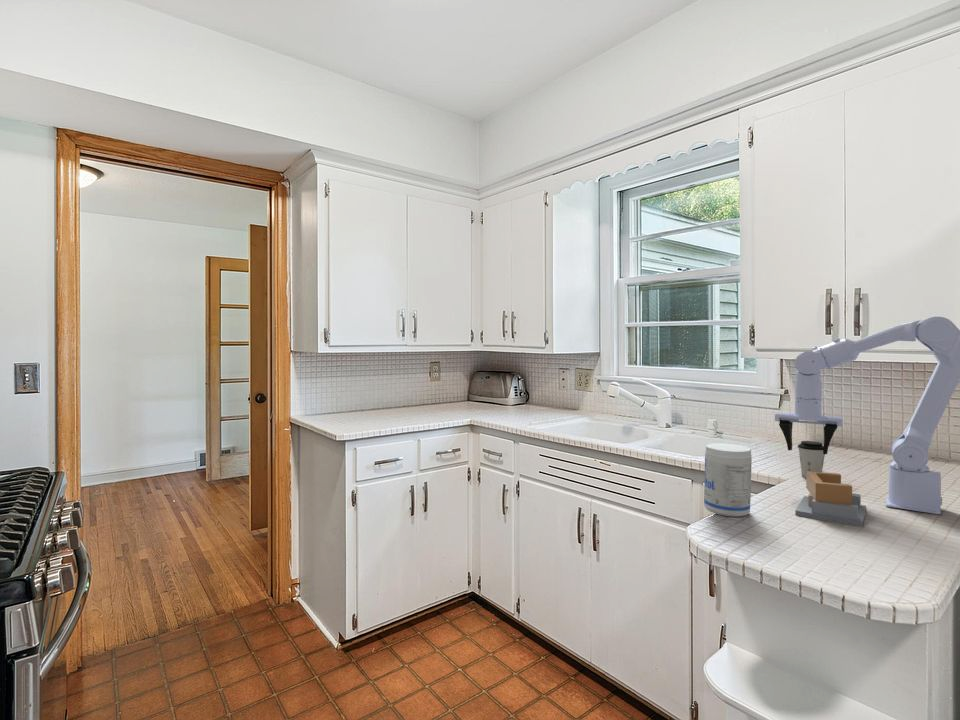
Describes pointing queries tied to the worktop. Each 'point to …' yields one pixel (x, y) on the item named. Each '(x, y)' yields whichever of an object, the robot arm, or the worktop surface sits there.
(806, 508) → the display stand
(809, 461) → the coffee cup
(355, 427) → the worktop surface
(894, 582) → the worktop surface
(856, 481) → the worktop surface
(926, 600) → the worktop surface
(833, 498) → the tan c-shaped bracket
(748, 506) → the supplement tub
